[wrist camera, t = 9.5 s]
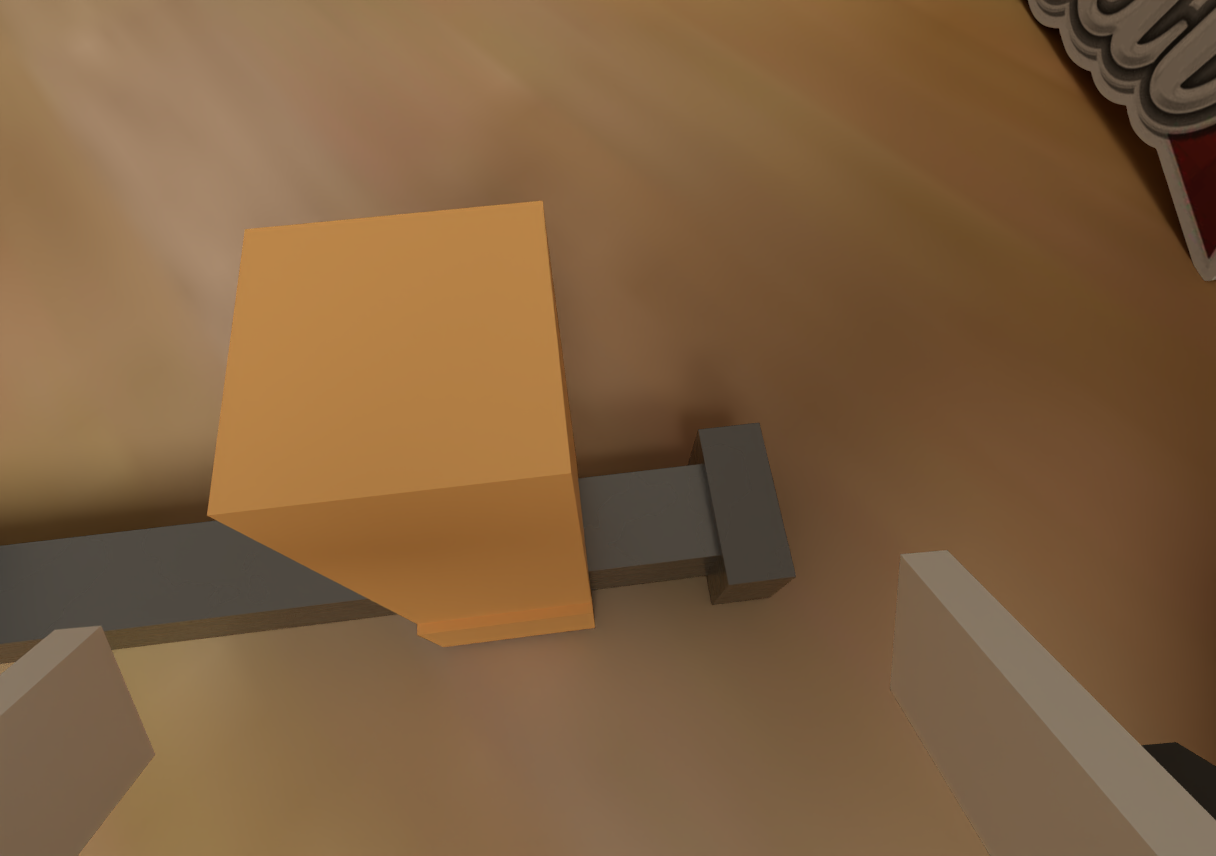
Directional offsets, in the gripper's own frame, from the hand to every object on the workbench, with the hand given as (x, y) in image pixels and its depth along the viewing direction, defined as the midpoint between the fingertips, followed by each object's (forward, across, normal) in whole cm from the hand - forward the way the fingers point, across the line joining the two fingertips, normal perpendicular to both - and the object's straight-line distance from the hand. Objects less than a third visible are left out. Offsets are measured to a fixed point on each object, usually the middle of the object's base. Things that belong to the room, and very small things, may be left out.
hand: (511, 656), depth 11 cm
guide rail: (+11, +9, +5) cm, 15 cm away
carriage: (+11, +2, +5) cm, 12 cm away
